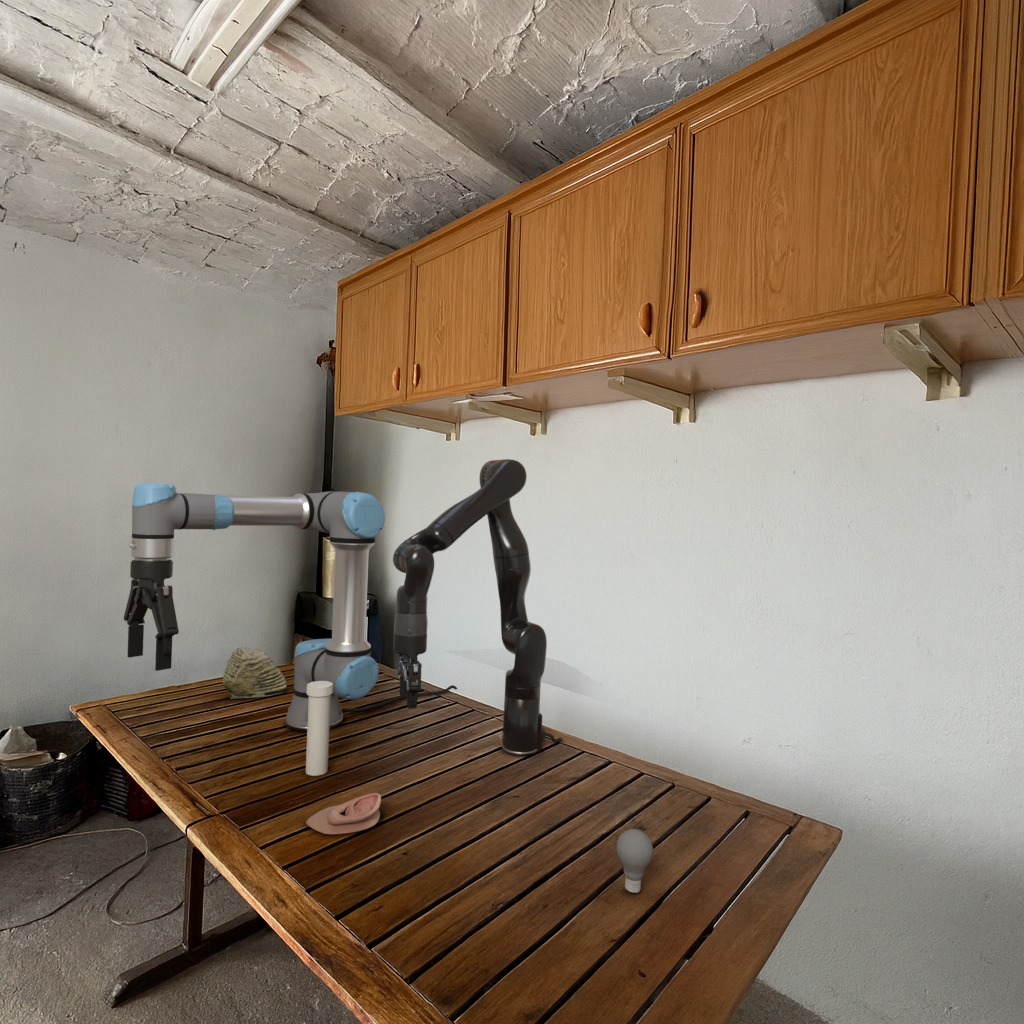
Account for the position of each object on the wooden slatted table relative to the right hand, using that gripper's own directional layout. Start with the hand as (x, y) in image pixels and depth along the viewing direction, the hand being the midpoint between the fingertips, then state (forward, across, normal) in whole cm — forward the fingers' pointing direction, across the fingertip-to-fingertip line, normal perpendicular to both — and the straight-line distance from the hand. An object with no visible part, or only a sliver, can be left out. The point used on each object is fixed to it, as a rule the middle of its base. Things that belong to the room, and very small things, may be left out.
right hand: (407, 701), depth 144 cm
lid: (-2, +8, +19) cm, 21 cm away
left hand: (-11, +4, +53) cm, 54 cm away
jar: (+17, +8, +19) cm, 27 cm away
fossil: (+17, +70, +34) cm, 79 cm away
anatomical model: (+17, -16, +15) cm, 28 cm away
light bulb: (+17, -52, -28) cm, 62 cm away
